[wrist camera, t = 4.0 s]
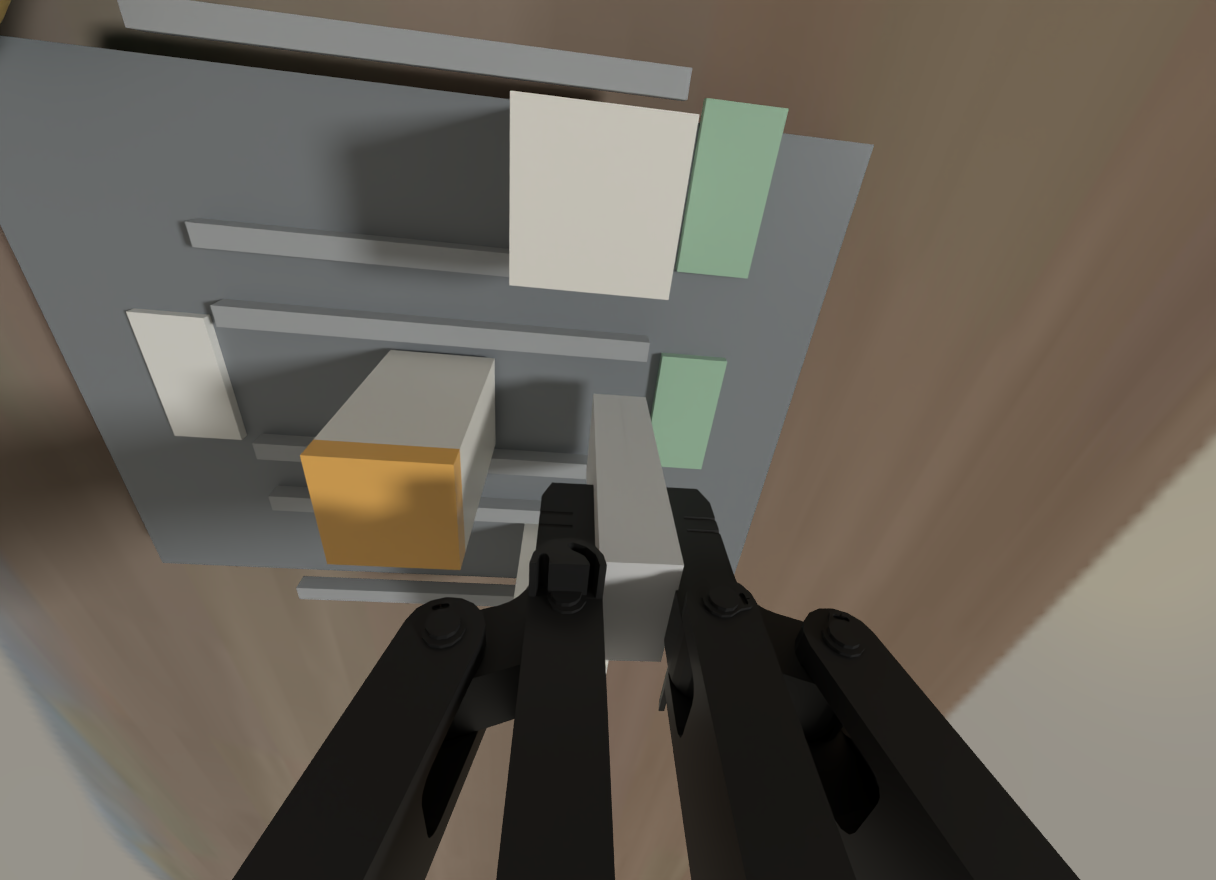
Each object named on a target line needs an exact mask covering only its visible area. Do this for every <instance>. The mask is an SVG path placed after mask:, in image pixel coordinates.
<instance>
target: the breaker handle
mask: <svg viewBox="0 0 1216 880" xmlns="http://www.w3.org/2000/svg"><path fill="white" fill-rule="evenodd" d="M495 444H496V437H495V358H485V357H473V356H460V355H448V354H435V353H423V352H410V351H398V350H390V351H389V352H388V353H387V355H386V356H385V357H384V358H383V359H382V360H381V362H380V363H379V364H378V365H377V366H376V367H375V369H374V370H373V371H372V372H371V373H370V374H369V375H368V377H367V378H366V379H365V380H364V381H363V382H362V384H361V385H360V386H359V387H358V388H357V389H356V391H355V392H354V393H353V394H352V395H351V396H350V398H349V399H348V400H347V401H346V402H345V403H344V405H343V406H342V407H341V408H340V409H339V410H338V412H337V413H336V414H335V415H334V416H333V417H332V419H331V420H330V421H329V422H328V423H327V424H326V425H325V427H324V428H323V429H322V430H321V431H320V432H319V434H318V435H317V436H316V437H315V438H314V439H313V441H312V442H311V443H310V444H309V445H308V446H307V448H306V449H305V450H304V451H303V452H302V453H301V455H300V458H301V462H302V466H303V470H304V474H305V478H306V482H307V486H308V490H309V494H310V498H311V502H312V506H313V510H314V514H315V518H316V522H317V526H318V529H319V533H320V537H321V541H322V545H323V549H324V553H325V557H326V561H327V564H334V565H356V566H379V567H402V568H424V569H447V570H461V566H462V563H463V559H464V556H465V552H466V548H467V545H468V541H469V538H470V534H471V530H472V527H473V523H474V520H475V516H476V512H477V509H478V505H479V502H480V498H481V494H482V491H483V487H484V483H485V480H486V476H487V473H488V469H489V465H490V462H491V458H492V455H493V451H494V447H495Z"/></svg>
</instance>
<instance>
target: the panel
mask: <svg viewBox="0 0 1216 880" xmlns="http://www.w3.org/2000/svg"><path fill="white" fill-rule="evenodd" d="M117 1H118V4H119V7H120V11H121V14H122V17H123V21H124V24H125V27H126V28H130V29H134V30H139V31H144V32H150V33H158V34H166V35H173V36H181V37H189V38H197V39H204V40H212V41H220V42H228V43H236V44H243V45H251V46H259V47H267V48H274V49H282V50H290V51H298V52H306V53H313V54H321V55H329V56H337V57H344V58H352V59H360V60H368V61H376V62H383V63H391V64H399V65H407V66H414V67H422V68H430V69H438V70H446V71H453V72H461V73H469V74H477V75H484V76H492V77H500V78H508V79H516V80H523V81H531V82H539V83H547V84H554V85H562V86H570V87H578V88H586V89H593V90H601V91H609V92H617V93H624V94H632V95H640V96H648V97H656V98H663V99H671V100H679V101H685V100H687V99H688V92H689V86H690V79H691V73H692V68H688V67H681V66H673V65H666V64H659V63H651V62H644V61H636V60H629V59H621V58H614V57H607V56H599V55H592V54H584V53H577V52H569V51H562V50H555V49H547V48H540V47H532V46H525V45H517V44H510V43H503V42H495V41H488V40H480V39H473V38H465V37H458V36H451V35H443V34H436V33H428V32H421V31H413V30H406V29H399V28H391V27H384V26H376V25H369V24H361V23H354V22H347V21H339V20H332V19H324V18H317V17H309V16H302V15H295V14H287V13H280V12H272V11H265V10H257V9H250V8H243V7H235V6H228V5H220V4H213V3H205V2H198V1H191V0H117ZM787 113H788V109H787V108H779V107H771V106H764V105H756V104H748V103H740V102H733V101H725V100H717V99H710V98H705V99H704V103H703V109H702V115H701V120H700V123H698V120H699V114H692V113H684V112H676V111H668V110H660V109H652V108H644V107H636V106H629V105H621V104H613V103H605V102H597V101H589V100H581V99H573V98H565V97H557V96H550V95H542V94H534V93H526V92H518V91H510V99H504V98H496V97H488V96H480V95H472V94H464V93H456V92H448V91H440V90H432V89H424V88H416V87H408V86H400V85H392V84H384V83H376V82H368V81H360V80H352V79H344V78H336V77H328V76H320V75H312V74H304V73H296V72H288V71H280V70H272V69H264V68H256V67H248V66H240V65H232V64H224V63H216V62H208V61H200V60H192V59H184V58H176V57H168V56H160V55H152V54H144V53H136V52H128V51H120V50H112V49H104V48H96V47H88V46H80V45H72V44H64V43H56V42H48V41H40V40H32V39H24V38H16V37H8V36H0V225H1V227H2V230H3V232H4V234H5V236H6V238H7V240H8V242H9V244H10V246H11V248H12V250H13V252H14V254H15V257H16V259H17V261H18V263H19V265H20V267H21V269H22V271H23V273H24V275H25V277H26V279H27V281H28V284H29V286H30V288H31V290H32V292H33V294H34V296H35V298H36V300H37V302H38V304H39V306H40V309H41V311H42V313H43V315H44V317H45V319H46V321H47V323H48V325H49V327H50V329H51V331H52V333H53V336H54V338H55V340H56V342H57V344H58V346H59V348H60V350H61V352H62V354H63V356H64V358H65V360H66V363H67V365H68V367H69V369H70V371H71V373H72V375H73V377H74V379H75V381H76V383H77V385H78V388H79V390H80V392H81V394H82V396H83V398H84V400H85V402H86V404H87V406H88V408H89V410H90V412H91V415H92V417H93V419H94V421H95V423H96V425H97V427H98V429H99V431H100V433H101V435H102V437H103V439H104V442H105V444H106V446H107V448H108V450H109V452H110V454H111V456H112V458H113V460H114V462H115V464H116V467H117V469H118V471H119V473H120V475H121V477H122V479H123V481H124V483H125V485H126V487H127V489H128V491H129V494H130V496H131V498H132V500H133V502H134V504H135V506H136V508H137V510H138V512H139V514H140V516H141V519H142V521H143V523H144V525H145V527H146V529H147V531H148V533H149V535H150V537H151V539H152V541H153V543H154V546H155V548H156V550H157V552H158V554H159V556H160V558H161V560H162V562H163V563H180V564H203V565H226V566H249V567H272V568H295V569H319V570H342V571H365V572H388V573H411V574H435V575H458V576H481V577H504V578H517V579H516V585H503V584H480V583H456V582H432V581H408V580H384V579H360V578H336V577H313V576H303V578H302V580H301V581H300V583H299V584H298V586H297V588H296V589H297V592H298V595H299V598H300V599H317V600H343V601H369V602H396V603H422V604H425V603H427V602H429V601H431V600H435V599H440V598H444V597H454V598H463V599H465V600H467V601H469V602H472V603H474V604H475V605H476V606H498V605H501V604H504V603H507V602H509V601H511V600H513V599H515V598H516V597H518V596H519V595H520V594H521V593H522V592H523V591H525V590H526V588H527V587H528V585H529V562H530V559H531V557H532V554H533V552H534V551H535V550H536V542H537V533H538V525H539V515H540V507H541V498H542V494H543V493H544V492H545V491H546V489H547V488H548V487H549V486H550V484H551V483H552V482H554V483H572V484H586V470H587V459H588V448H589V437H590V426H591V415H592V405H593V394H606V395H621V396H635V397H646V401H647V405H648V410H649V414H650V418H651V423H652V427H653V432H654V436H655V440H656V445H657V449H658V453H659V458H660V462H661V467H662V471H663V475H664V480H665V484H666V487H672V488H690V489H698V490H699V491H700V493H701V494H702V495H703V496H704V497H705V498H706V499H707V500H708V501H709V502H710V504H711V507H712V510H713V513H714V516H715V521H716V522H717V525H718V528H719V534H721V537H722V540H723V543H724V546H725V549H726V552H727V555H728V558H729V561H730V564H731V567H732V570H733V573H734V574H735V570H736V567H737V564H738V561H739V558H740V555H741V552H742V549H743V546H744V543H745V540H746V537H747V534H748V531H749V527H750V524H751V521H752V518H753V515H754V512H755V509H756V506H757V503H758V500H759V497H760V494H761V491H762V488H763V484H764V481H765V478H766V475H767V472H768V469H769V466H770V463H771V460H772V457H773V454H774V451H775V448H776V445H777V441H778V438H779V435H780V432H781V429H782V426H783V423H784V420H785V417H786V414H787V411H788V408H789V405H790V402H791V398H792V395H793V392H794V389H795V386H796V383H797V380H798V377H799V374H800V371H801V368H802V365H803V362H804V359H805V355H806V352H807V349H808V346H809V343H810V340H811V337H812V334H813V331H814V328H815V325H816V322H817V319H818V316H819V312H820V309H821V306H822V303H823V300H824V297H825V294H826V291H827V288H828V285H829V282H830V279H831V276H832V273H833V269H834V266H835V263H836V260H837V257H838V254H839V251H840V248H841V245H842V242H843V239H844V236H845V233H846V230H847V226H848V223H849V220H850V217H851V214H852V211H853V208H854V205H855V202H856V199H857V196H858V193H859V190H860V187H861V183H862V180H863V177H864V174H865V171H866V168H867V165H868V162H869V159H870V156H871V153H872V150H873V147H874V145H871V144H863V143H855V142H847V141H839V140H831V139H823V138H815V137H807V136H799V135H791V134H783V130H784V126H785V122H786V118H787ZM390 350H398V351H410V352H423V353H435V354H448V355H460V356H473V357H485V358H495V437H496V444H495V447H494V451H493V455H492V458H491V462H490V465H489V469H488V473H487V476H486V480H485V483H484V487H483V491H482V494H481V498H480V502H479V505H478V509H477V512H476V516H475V520H474V523H473V527H472V530H471V534H470V538H469V541H468V545H467V548H466V552H465V556H464V559H463V563H462V566H461V570H447V569H424V568H402V567H379V566H356V565H334V564H327V561H326V557H325V553H324V549H323V545H322V541H321V537H320V533H319V529H318V526H317V522H316V518H315V514H314V510H313V506H312V502H311V498H310V494H309V490H308V486H307V482H306V478H305V474H304V470H303V466H302V462H301V458H300V455H301V453H302V452H303V451H304V450H305V449H306V448H307V446H308V445H309V444H310V443H311V442H312V441H313V439H314V438H315V437H316V436H317V435H318V434H319V432H320V431H321V430H322V429H323V428H324V427H325V425H326V424H327V423H328V422H329V421H330V420H331V419H332V417H333V416H334V415H335V414H336V413H337V412H338V410H339V409H340V408H341V407H342V406H343V405H344V403H345V402H346V401H347V400H348V399H349V398H350V396H351V395H352V394H353V393H354V392H355V391H356V389H357V388H358V387H359V386H360V385H361V384H362V382H363V381H364V380H365V379H366V378H367V377H368V375H369V374H370V373H371V372H372V371H373V370H374V369H375V367H376V366H377V365H378V364H379V363H380V362H381V360H382V359H383V358H384V357H385V356H386V355H387V353H388V352H389V351H390ZM605 664H606V672H607V666H608V660H605Z"/></svg>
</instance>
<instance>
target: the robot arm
mask: <svg viewBox="0 0 1216 880" xmlns="http://www.w3.org/2000/svg"><path fill="white" fill-rule="evenodd" d="M664 646H665V651H666V657H667V664H668V668H667V672H666V676H665V680H664V684H663V688H662V691H661V695H660V699H659V711H664V709H665V706H666V703H667V710H668V717H669V724H670V731H671V738H672V746H673V753H674V760H675V767H676V774H677V781H678V788H679V795H680V802H681V809H682V817H683V824H684V831H685V838H686V845H687V852H688V859H689V866H690V873H691V880H1080V879H1079V878H1078V877H1077V875H1076V874H1075V873H1074V872H1073V871H1072V869H1071V868H1070V867H1069V866H1068V865H1067V863H1066V862H1065V861H1064V860H1063V859H1062V857H1061V856H1060V855H1059V854H1058V853H1057V851H1056V850H1055V849H1054V848H1053V847H1052V845H1051V844H1050V843H1049V842H1048V841H1047V839H1046V838H1045V837H1044V836H1043V835H1042V833H1041V832H1040V831H1039V830H1038V829H1037V827H1036V826H1035V825H1034V824H1033V823H1032V822H1031V820H1030V819H1029V818H1028V817H1027V816H1026V814H1025V813H1024V812H1023V811H1022V810H1021V808H1020V807H1019V806H1018V805H1017V804H1016V802H1015V801H1014V800H1013V799H1012V798H1011V796H1010V795H1009V794H1008V793H1007V792H1006V790H1004V788H1003V787H1002V786H1001V784H1000V783H999V782H998V781H997V780H996V778H995V777H994V776H993V775H992V774H991V773H990V771H989V770H988V769H987V768H986V767H985V765H984V764H983V763H982V762H981V761H980V759H979V758H978V757H977V756H976V755H975V753H974V752H973V751H972V750H971V749H970V747H969V746H968V745H967V744H966V743H965V742H964V740H963V739H962V738H961V737H960V735H959V734H958V733H957V732H956V731H955V730H954V729H953V727H952V726H951V725H950V724H949V722H948V721H947V720H946V719H945V718H944V716H943V715H942V714H941V713H940V712H939V710H938V709H937V708H936V707H935V706H934V704H933V703H932V702H931V701H930V700H929V698H928V697H927V696H926V695H925V694H924V692H923V691H922V690H921V689H920V688H919V686H918V685H917V684H916V683H915V682H914V680H913V679H912V678H911V677H910V676H909V674H908V673H907V672H906V671H905V670H904V669H903V667H902V666H901V665H900V664H899V663H898V661H897V660H896V659H895V658H894V657H893V655H892V654H891V653H890V652H889V651H888V649H887V648H886V647H885V646H884V645H883V643H882V642H881V641H880V640H879V639H878V637H877V636H876V635H875V634H874V633H873V632H872V631H871V630H870V629H869V628H868V627H867V626H866V625H865V624H864V623H863V622H862V621H860V620H858V619H857V618H855V617H853V616H851V615H850V614H848V613H846V612H842V611H839V610H836V609H817V610H815V611H813V612H810V613H809V614H808V616H807V617H806V619H805V620H804V622H803V621H799V620H796V619H793V618H789V617H786V616H783V615H780V614H776V613H774V612H771V611H769V610H766V609H764V608H762V607H760V606H759V605H757V603H756V601H755V599H754V598H753V596H752V594H751V593H750V592H749V591H748V590H747V589H746V588H744V587H743V586H742V585H741V584H739V583H737V581H736V579H735V576H734V573H733V570H732V567H731V564H730V561H729V558H728V555H727V552H726V549H725V546H724V543H723V540H722V537H721V534H719V528H718V525H717V522H716V521H715V516H714V513H713V510H712V507H711V504H710V502H709V501H708V500H707V499H706V498H705V497H704V496H703V495H702V494H701V493H700V491H699V490H698V489H690V488H672V487H666V484H665V480H664V475H663V471H662V467H661V462H660V458H659V453H658V449H657V445H656V440H655V436H654V432H653V427H652V423H651V418H650V414H649V410H648V405H647V401H646V397H635V396H621V395H606V394H593V405H592V415H591V426H590V437H589V448H588V459H587V470H586V484H572V483H554V482H552V483H551V484H550V486H549V487H548V488H547V489H546V491H545V492H544V493H543V494H542V498H541V507H540V515H539V525H538V533H537V542H536V550H535V551H534V552H533V554H532V557H531V559H530V562H529V585H528V587H527V588H526V590H525V591H523V592H522V593H521V594H520V595H519V596H518V597H516V598H515V599H513V600H511V601H509V602H507V603H504V604H501V605H498V606H494V607H490V608H486V609H482V610H479V609H478V607H477V606H476V605H475V604H474V603H472V602H469V601H467V600H465V599H463V598H454V597H444V598H440V599H435V600H431V601H429V602H427V603H425V604H424V605H422V606H420V607H418V608H416V609H415V611H414V612H413V613H412V614H411V615H410V616H409V617H408V618H407V619H406V620H405V622H404V623H403V625H402V626H401V628H400V629H399V631H398V632H397V634H396V635H395V637H394V638H393V640H392V641H391V643H390V644H389V646H388V647H387V649H386V650H385V652H384V653H383V655H382V656H381V658H380V659H379V661H378V662H377V664H376V665H375V667H374V668H373V670H372V671H371V673H370V674H369V676H368V677H367V679H366V680H365V682H364V683H363V685H362V686H361V688H360V689H359V691H358V692H357V694H356V695H355V697H354V698H353V700H352V701H351V703H350V704H349V706H348V707H347V708H346V710H345V711H344V713H343V714H342V716H341V717H340V719H339V720H338V722H337V723H336V725H335V726H334V728H333V729H332V731H331V732H330V734H329V735H328V737H327V738H326V740H325V741H324V743H323V744H322V746H321V747H320V749H319V750H318V752H317V753H316V755H315V756H314V758H313V759H312V761H311V762H310V764H309V765H308V767H307V768H306V770H305V771H304V773H303V774H302V776H301V777H300V779H299V780H298V782H297V783H296V785H295V786H294V788H293V789H292V791H291V792H290V794H289V795H288V797H287V798H286V800H285V801H284V803H283V804H282V806H281V807H280V809H279V810H278V812H277V813H276V815H275V816H274V818H273V819H272V821H271V822H270V824H269V825H268V827H267V828H266V830H265V831H264V833H263V834H262V836H261V837H260V839H259V840H258V842H257V843H256V845H255V846H254V848H253V849H252V851H251V852H250V854H249V855H248V857H247V858H246V860H245V861H244V863H243V864H242V866H241V867H240V869H239V870H238V872H237V873H236V875H235V876H234V878H233V879H232V880H425V878H426V876H427V873H428V871H429V868H430V866H431V863H432V861H433V858H434V856H435V853H436V851H437V849H438V846H439V844H440V841H441V839H442V836H443V834H444V831H445V829H446V826H447V824H448V821H449V819H450V817H451V814H452V812H453V809H454V807H455V804H456V802H457V799H458V797H459V794H460V792H461V790H462V787H463V785H464V782H465V780H466V777H467V775H468V772H469V770H470V767H471V765H472V762H473V760H474V758H475V755H476V753H477V750H478V748H479V745H480V743H481V740H482V738H483V735H484V733H485V731H486V728H488V727H491V726H494V725H497V724H500V723H503V722H506V721H509V720H512V719H514V728H513V737H512V746H511V754H510V763H509V772H508V781H507V790H506V799H505V807H504V816H503V825H502V834H501V843H500V851H499V860H498V869H497V878H496V880H615V869H614V847H613V824H612V801H611V778H610V755H609V732H608V710H607V687H606V664H605V660H617V661H657V662H661V659H662V655H663V651H664Z"/></svg>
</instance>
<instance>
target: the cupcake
mask: <svg viewBox="0 0 1216 880" xmlns="http://www.w3.org/2000/svg"><path fill="white" fill-rule="evenodd" d="M10 2H11V0H0V24H1V22H2V20H3V18H4V16H5V14H6V11H7V9H8V6H9V4H10Z"/></svg>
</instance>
